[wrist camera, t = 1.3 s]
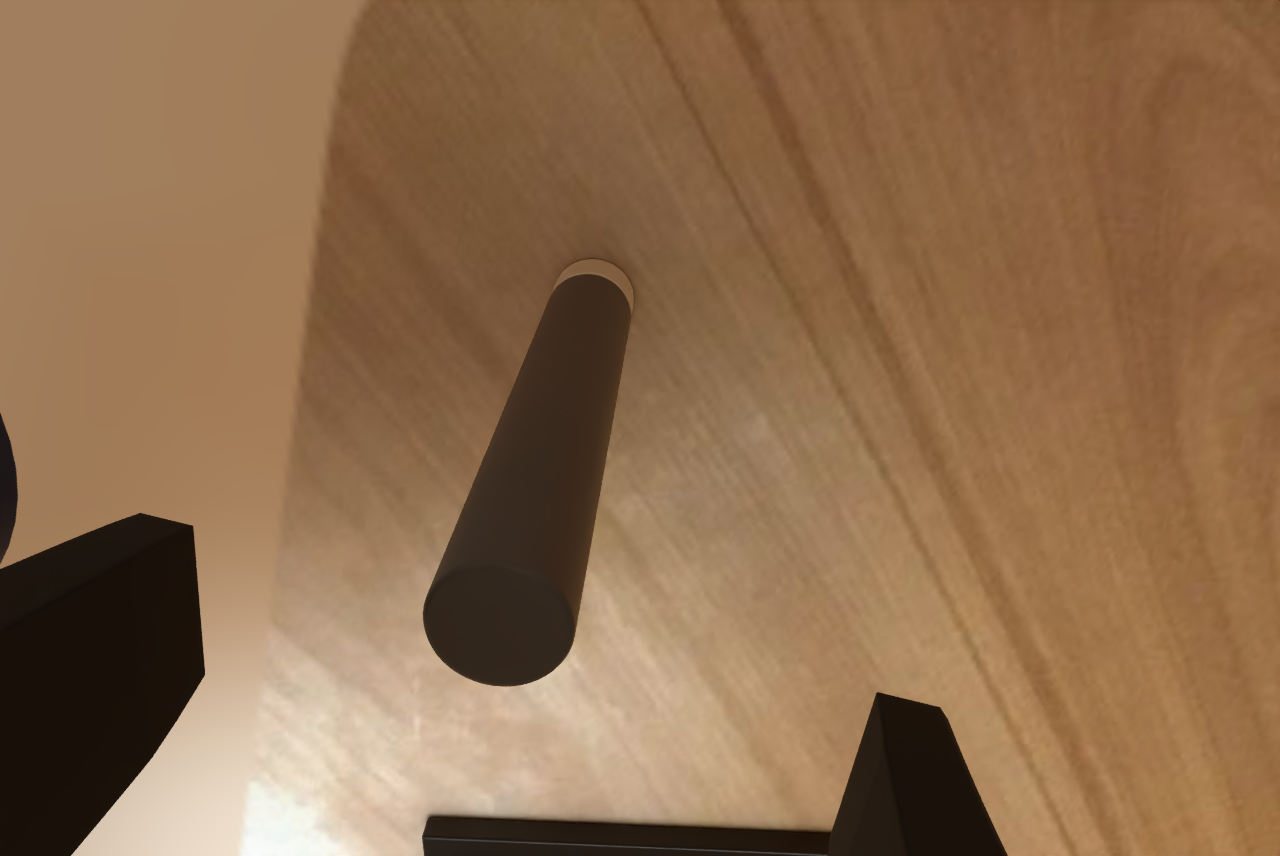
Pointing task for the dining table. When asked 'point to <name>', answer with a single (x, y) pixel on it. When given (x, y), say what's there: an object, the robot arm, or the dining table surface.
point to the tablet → (607, 840)
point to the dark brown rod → (536, 493)
